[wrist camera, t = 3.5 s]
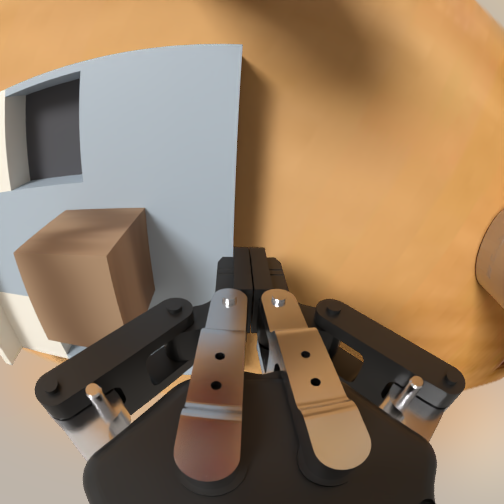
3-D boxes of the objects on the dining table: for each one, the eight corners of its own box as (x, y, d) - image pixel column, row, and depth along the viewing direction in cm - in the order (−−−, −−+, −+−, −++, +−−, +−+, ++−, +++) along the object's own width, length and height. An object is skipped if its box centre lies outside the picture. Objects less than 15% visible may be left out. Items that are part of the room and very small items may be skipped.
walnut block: (145, 207, 13) (106, 256, 9) (155, 289, 16) (132, 353, 11) (65, 210, 13) (13, 252, 8) (83, 285, 15) (48, 339, 11)
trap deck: (241, 55, 12) (242, 44, 10) (231, 352, 22) (231, 376, 20) (-26, 112, 10) (-46, 117, 8) (27, 328, 20) (16, 345, 18)
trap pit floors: (101, 74, 12) (99, 74, 11) (135, 342, 21) (134, 345, 21) (28, 95, 11) (25, 95, 11) (76, 335, 21) (75, 337, 20)
